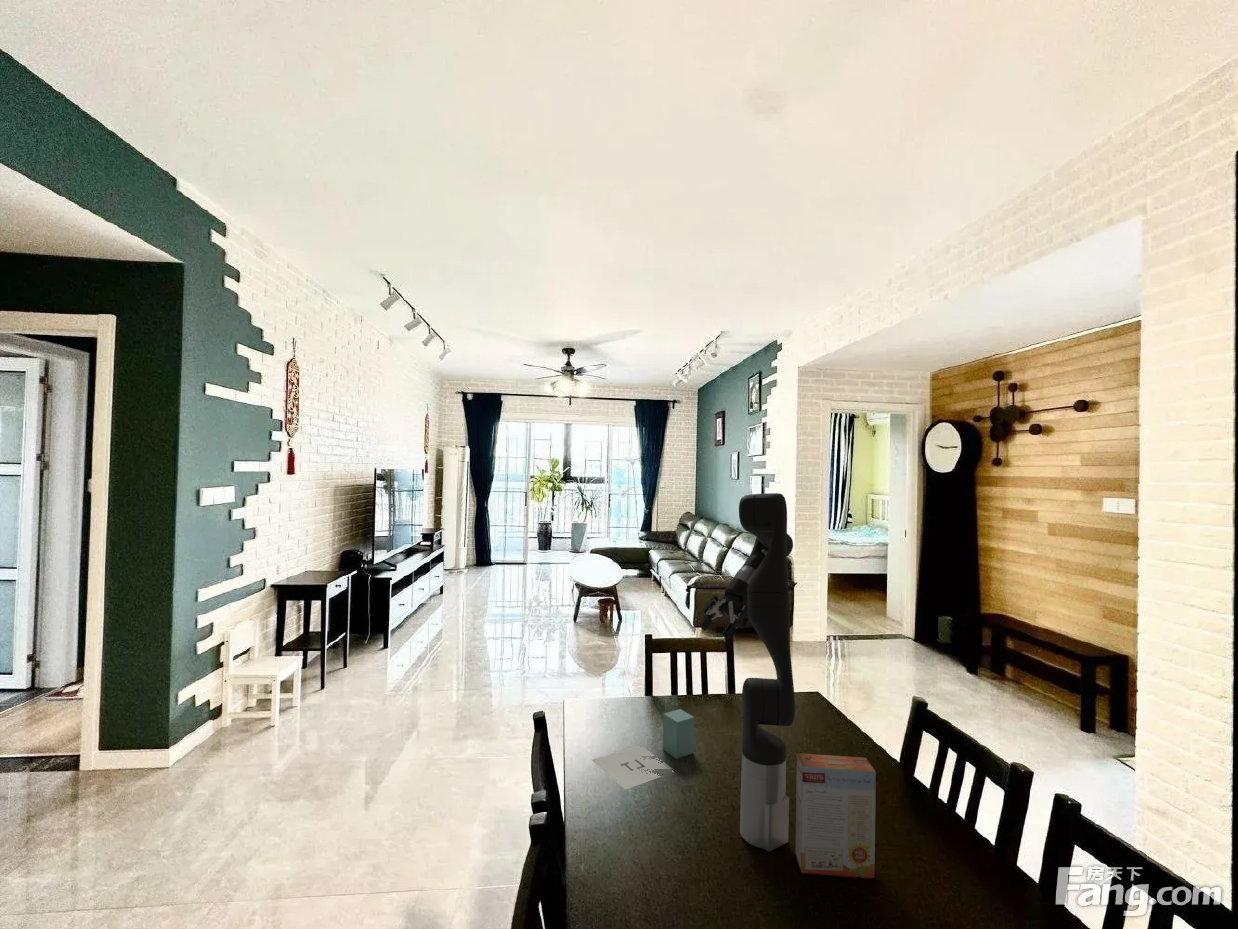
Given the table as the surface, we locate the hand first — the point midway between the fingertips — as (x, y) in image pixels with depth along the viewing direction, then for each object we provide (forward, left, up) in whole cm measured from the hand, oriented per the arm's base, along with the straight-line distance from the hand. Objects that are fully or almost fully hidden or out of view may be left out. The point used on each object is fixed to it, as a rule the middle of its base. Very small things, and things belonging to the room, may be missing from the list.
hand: (713, 632), depth 149 cm
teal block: (+9, +4, -35) cm, 36 cm away
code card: (+9, +19, -35) cm, 40 cm away
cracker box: (-42, +6, -35) cm, 55 cm away
